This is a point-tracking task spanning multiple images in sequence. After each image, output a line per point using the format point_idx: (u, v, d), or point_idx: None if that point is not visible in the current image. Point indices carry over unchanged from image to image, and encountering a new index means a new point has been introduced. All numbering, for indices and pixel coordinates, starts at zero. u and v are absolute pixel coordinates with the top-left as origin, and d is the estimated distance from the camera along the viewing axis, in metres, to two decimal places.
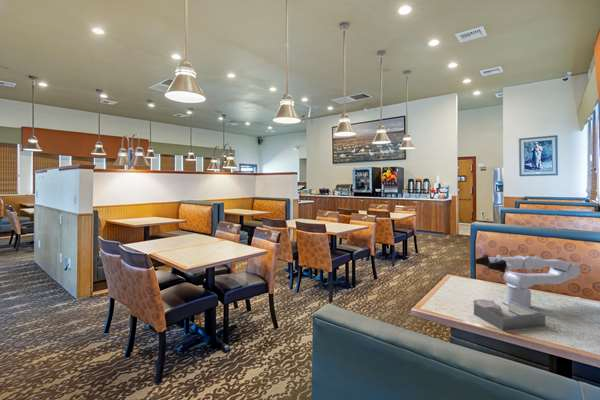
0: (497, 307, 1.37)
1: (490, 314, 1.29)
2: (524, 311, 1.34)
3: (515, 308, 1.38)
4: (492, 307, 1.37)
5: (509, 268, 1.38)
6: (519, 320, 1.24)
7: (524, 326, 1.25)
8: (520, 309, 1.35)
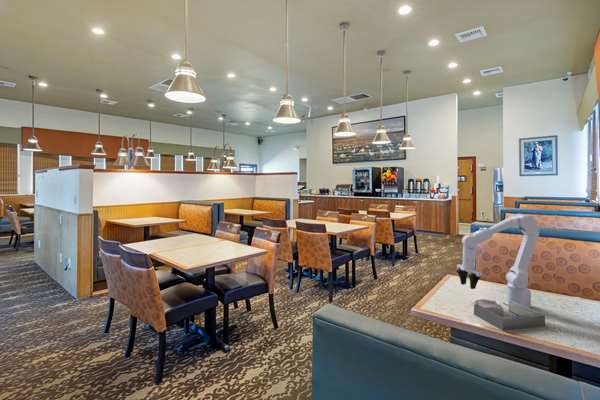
0: (499, 307, 1.37)
1: (490, 314, 1.29)
2: (524, 311, 1.34)
3: (515, 308, 1.38)
4: (494, 307, 1.37)
5: (480, 275, 1.46)
6: (519, 320, 1.24)
7: (524, 326, 1.25)
8: (520, 309, 1.35)
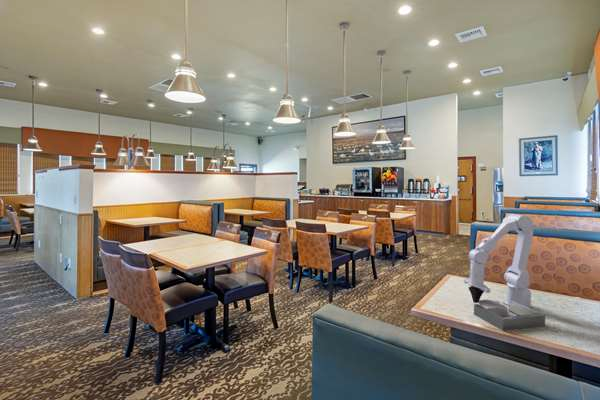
0: (503, 307, 1.36)
1: (490, 314, 1.29)
2: (524, 311, 1.34)
3: (515, 308, 1.38)
4: (498, 307, 1.36)
5: (489, 291, 1.41)
6: (519, 320, 1.24)
7: (524, 326, 1.25)
8: (520, 309, 1.35)
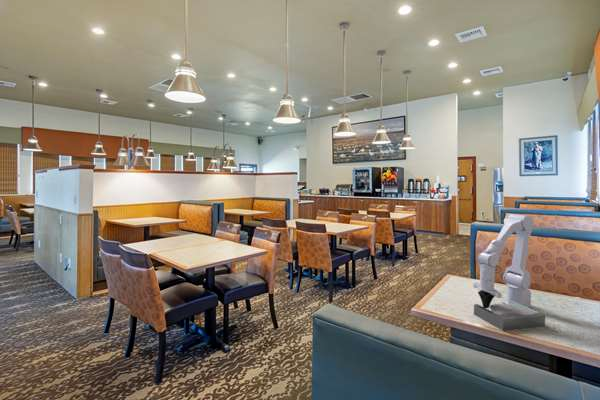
0: (518, 312, 1.31)
1: (490, 314, 1.29)
2: (524, 311, 1.34)
3: (515, 308, 1.38)
4: (513, 312, 1.32)
5: (500, 296, 1.34)
6: (519, 320, 1.24)
7: (524, 326, 1.25)
8: (520, 309, 1.35)
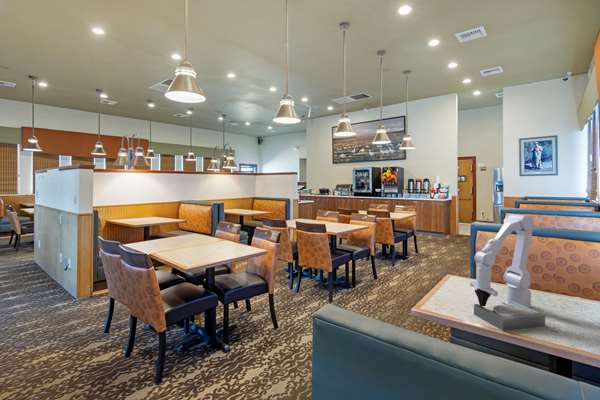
0: (524, 313, 1.31)
1: (490, 314, 1.29)
2: (524, 311, 1.34)
3: (515, 308, 1.38)
4: (520, 314, 1.30)
5: (496, 294, 1.37)
6: (519, 320, 1.24)
7: (524, 326, 1.25)
8: (520, 309, 1.35)
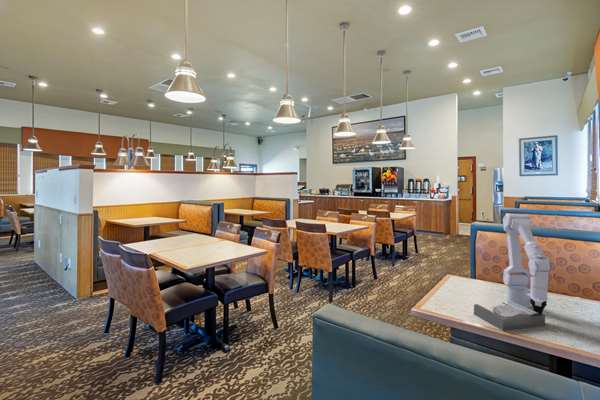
0: (525, 313, 1.31)
1: (490, 314, 1.29)
2: None
3: None
4: (521, 314, 1.30)
5: (539, 304, 1.25)
6: (519, 320, 1.24)
7: (524, 326, 1.25)
8: (519, 309, 1.35)
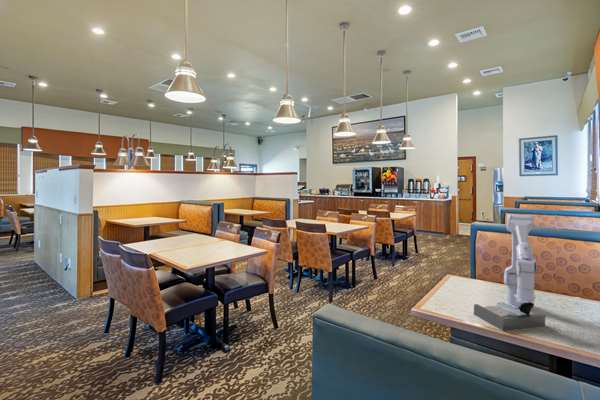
0: (513, 314, 1.29)
1: (490, 314, 1.29)
2: None
3: None
4: (509, 315, 1.29)
5: (517, 304, 1.25)
6: (519, 320, 1.24)
7: (524, 326, 1.25)
8: None
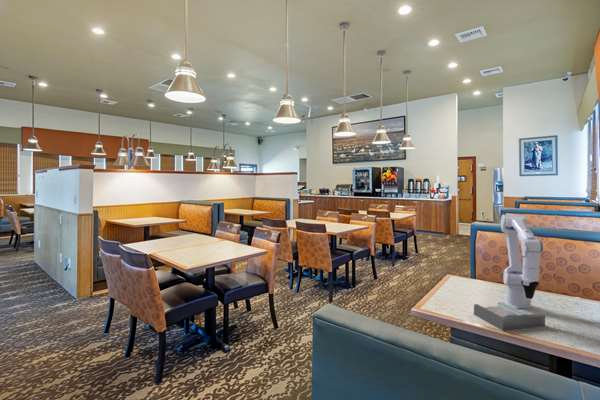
0: (514, 314, 1.30)
1: (490, 314, 1.29)
2: None
3: (503, 309, 1.37)
4: (510, 315, 1.29)
5: (526, 284, 1.27)
6: (519, 320, 1.24)
7: (524, 326, 1.25)
8: (508, 310, 1.34)
